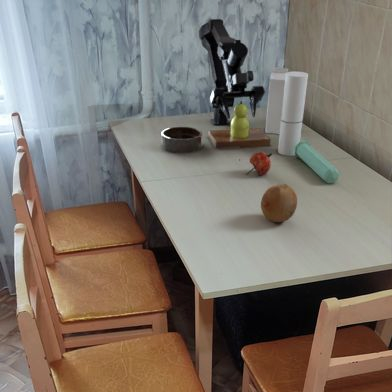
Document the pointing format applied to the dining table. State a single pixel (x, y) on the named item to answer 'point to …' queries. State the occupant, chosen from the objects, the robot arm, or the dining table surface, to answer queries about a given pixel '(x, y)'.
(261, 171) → the red rounded lumpy piece
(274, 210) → the onion
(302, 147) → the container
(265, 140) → the board
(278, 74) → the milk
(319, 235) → the dining table surface
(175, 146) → the bowl
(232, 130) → the pear
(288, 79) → the cylindrical container
